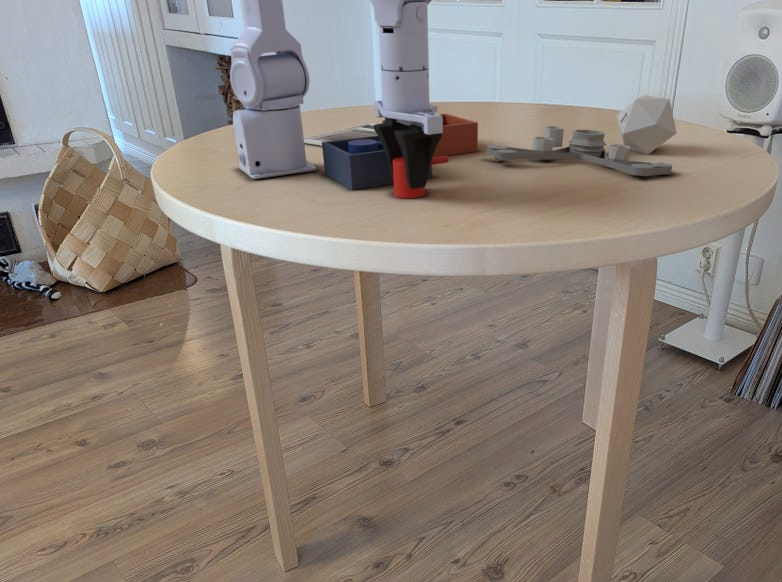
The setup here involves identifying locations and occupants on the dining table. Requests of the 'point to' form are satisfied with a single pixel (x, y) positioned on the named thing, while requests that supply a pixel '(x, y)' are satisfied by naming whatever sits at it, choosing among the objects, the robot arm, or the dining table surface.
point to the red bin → (457, 136)
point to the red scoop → (401, 180)
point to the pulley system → (580, 152)
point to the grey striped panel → (343, 134)
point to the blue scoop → (363, 146)
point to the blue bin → (357, 165)
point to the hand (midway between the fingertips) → (409, 183)
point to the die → (646, 123)
